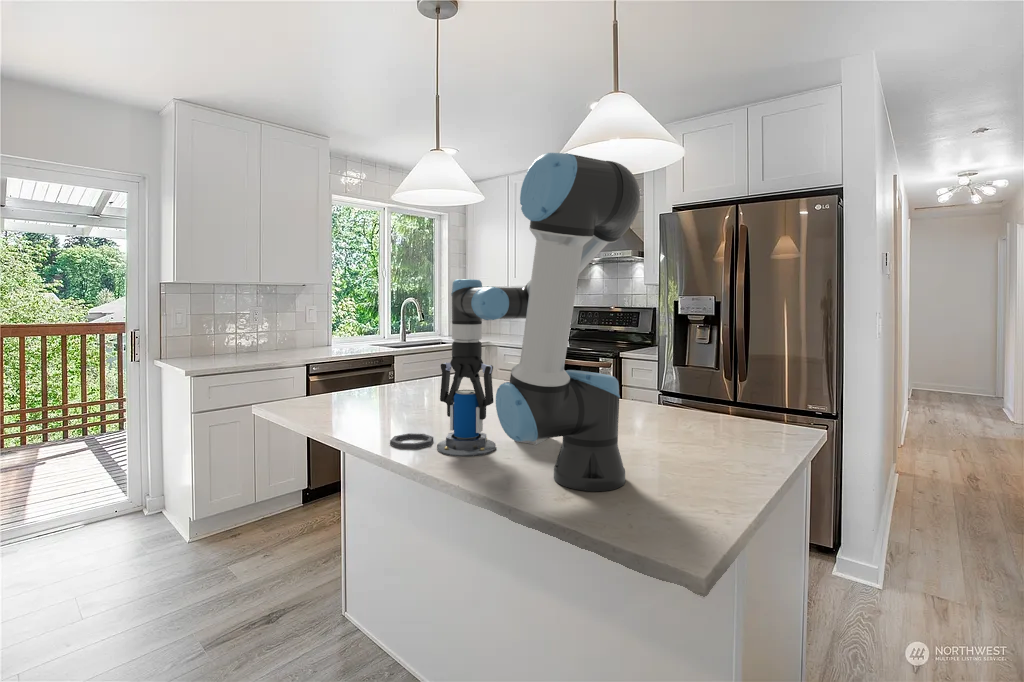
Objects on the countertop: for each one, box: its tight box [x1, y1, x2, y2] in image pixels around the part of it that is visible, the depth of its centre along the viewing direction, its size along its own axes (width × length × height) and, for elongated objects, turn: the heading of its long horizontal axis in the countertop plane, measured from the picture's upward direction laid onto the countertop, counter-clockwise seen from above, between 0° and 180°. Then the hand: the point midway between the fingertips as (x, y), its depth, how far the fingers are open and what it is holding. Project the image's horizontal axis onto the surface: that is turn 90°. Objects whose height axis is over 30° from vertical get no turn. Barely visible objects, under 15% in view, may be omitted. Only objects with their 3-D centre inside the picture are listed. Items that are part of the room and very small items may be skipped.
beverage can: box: [453, 389, 479, 440], centre depth 137 cm, size 6×6×12 cm
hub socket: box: [436, 431, 497, 458], centre depth 137 cm, size 15×15×3 cm
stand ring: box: [389, 432, 434, 450], centre depth 141 cm, size 10×10×1 cm
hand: (466, 430), depth 137 cm, fingers closed on beverage can, 6 cm apart
